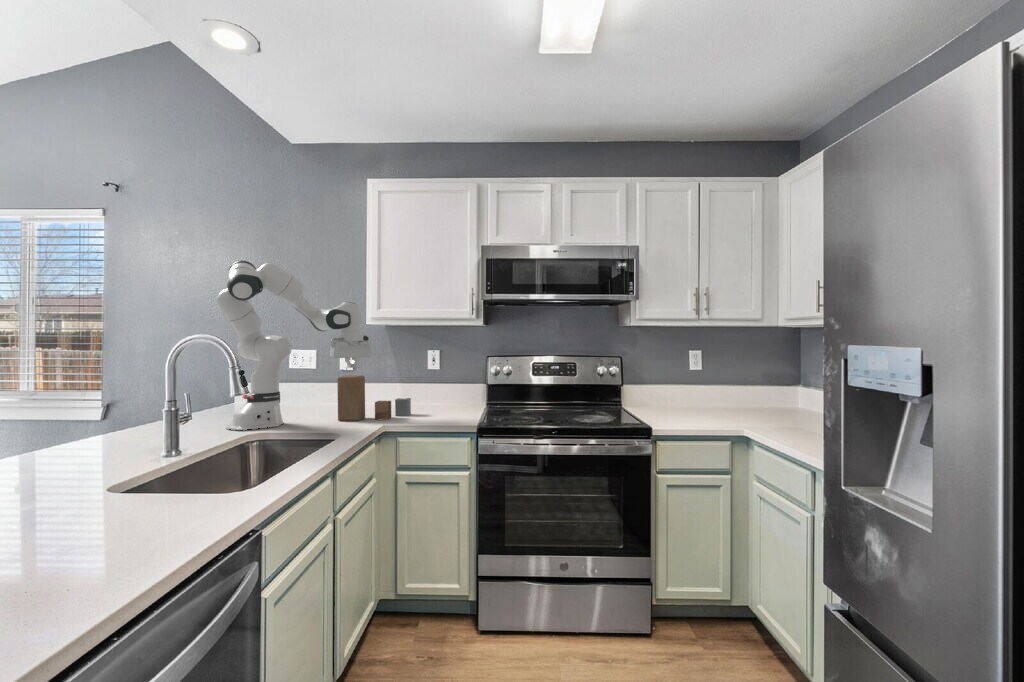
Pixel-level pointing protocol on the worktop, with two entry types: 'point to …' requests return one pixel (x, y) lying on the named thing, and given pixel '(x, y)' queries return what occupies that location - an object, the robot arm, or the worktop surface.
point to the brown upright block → (383, 410)
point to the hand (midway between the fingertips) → (351, 367)
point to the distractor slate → (402, 406)
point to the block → (351, 397)
